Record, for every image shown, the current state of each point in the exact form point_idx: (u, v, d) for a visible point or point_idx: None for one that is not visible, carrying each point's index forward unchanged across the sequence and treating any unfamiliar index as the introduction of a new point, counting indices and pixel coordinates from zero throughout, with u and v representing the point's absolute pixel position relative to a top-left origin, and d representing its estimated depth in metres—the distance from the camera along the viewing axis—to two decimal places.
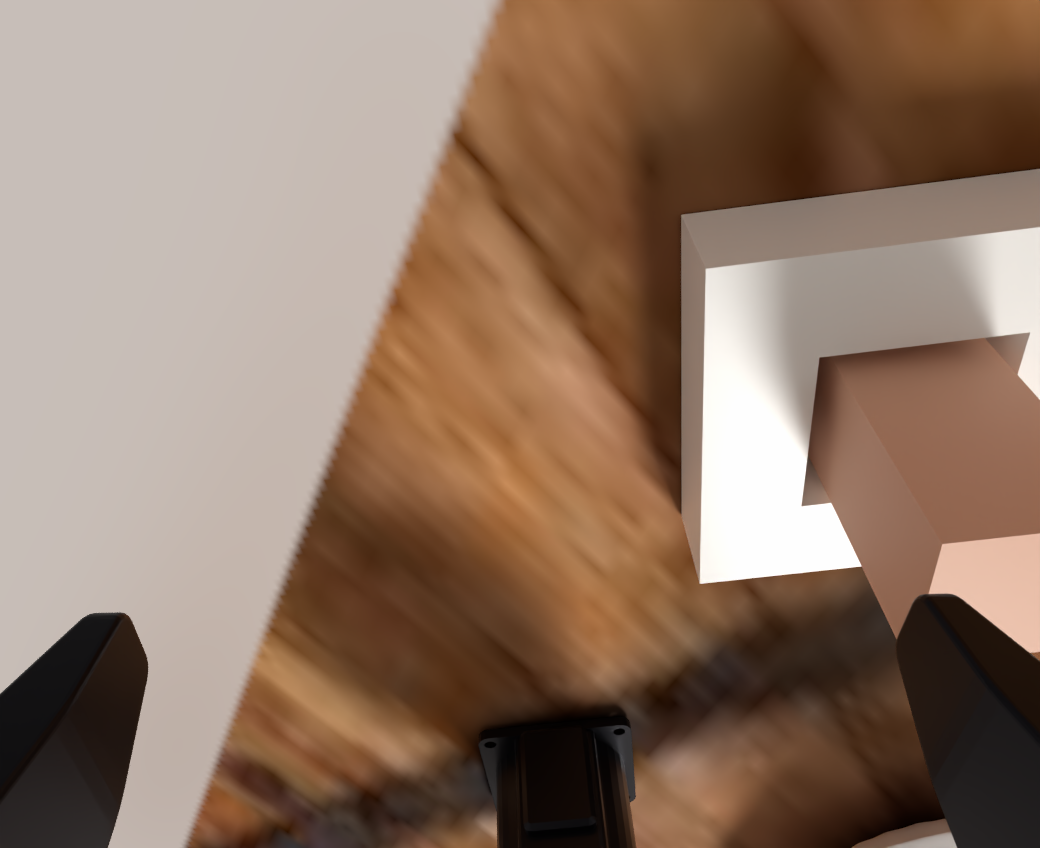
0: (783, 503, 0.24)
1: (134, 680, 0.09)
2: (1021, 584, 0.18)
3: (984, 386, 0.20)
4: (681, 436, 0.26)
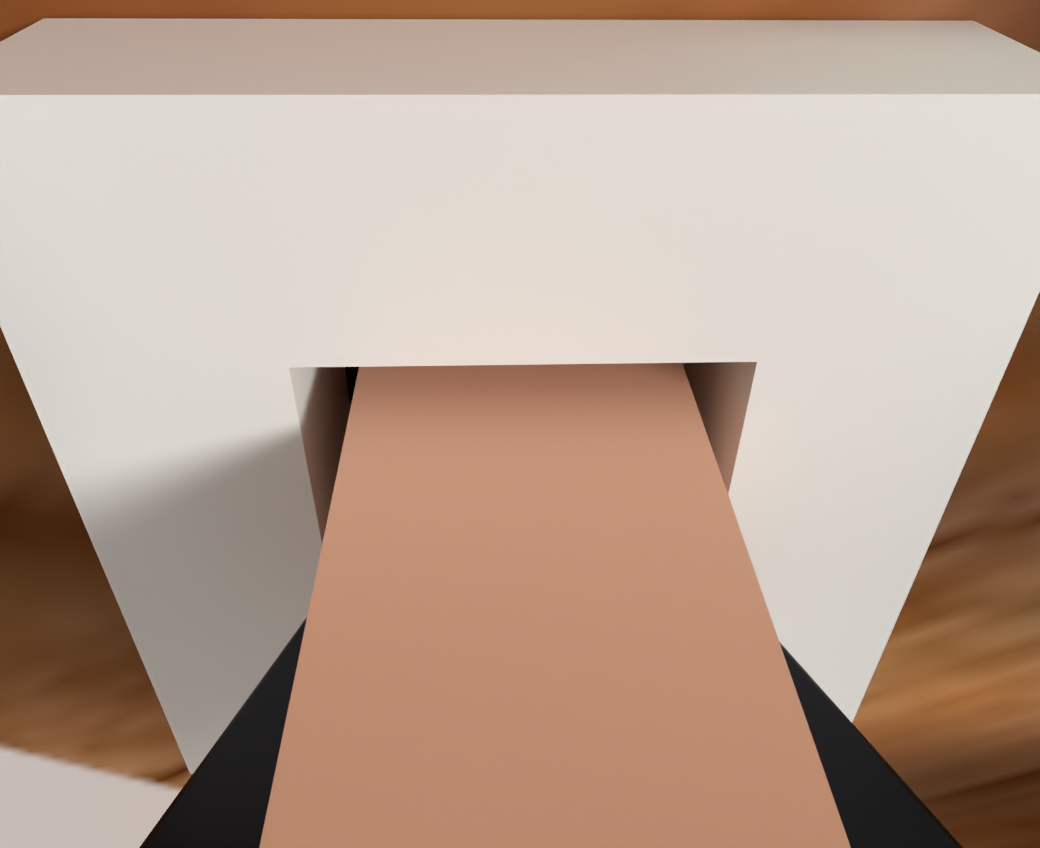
0: None
1: None
2: None
3: None
4: None
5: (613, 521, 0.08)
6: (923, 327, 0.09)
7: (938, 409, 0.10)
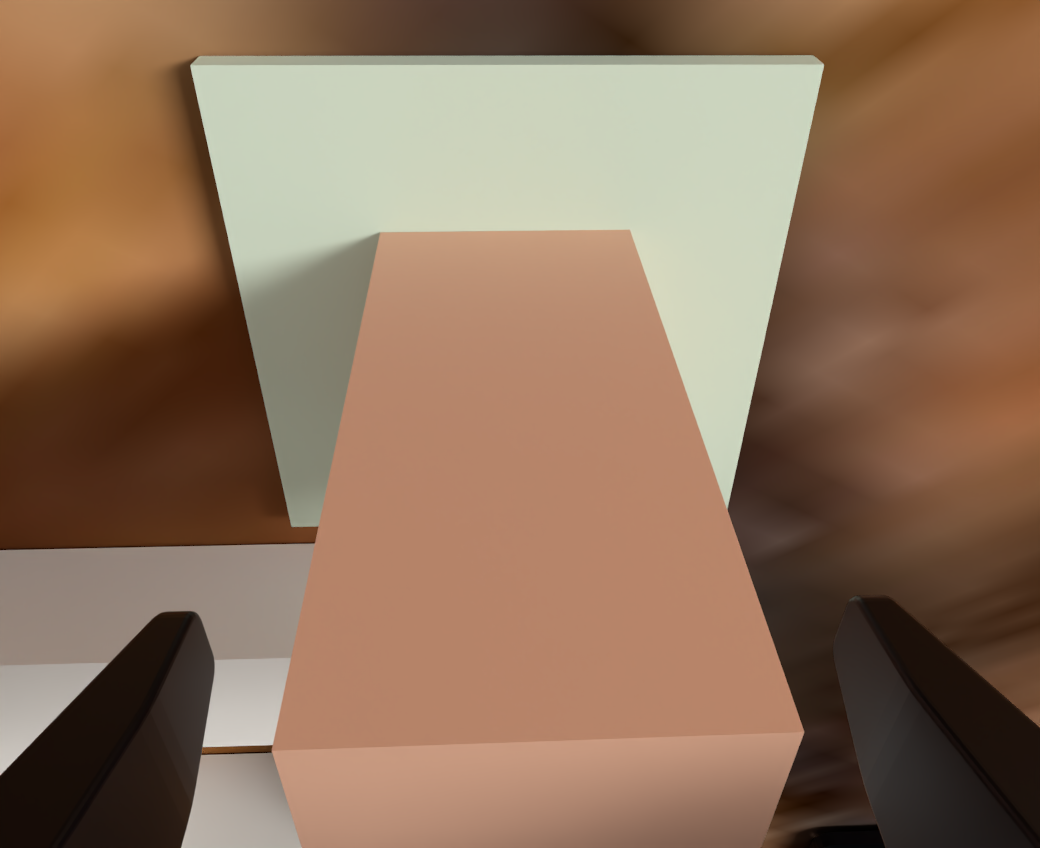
0: None
1: (203, 678, 0.09)
2: None
3: None
4: None
5: (587, 413, 0.10)
6: None
7: None
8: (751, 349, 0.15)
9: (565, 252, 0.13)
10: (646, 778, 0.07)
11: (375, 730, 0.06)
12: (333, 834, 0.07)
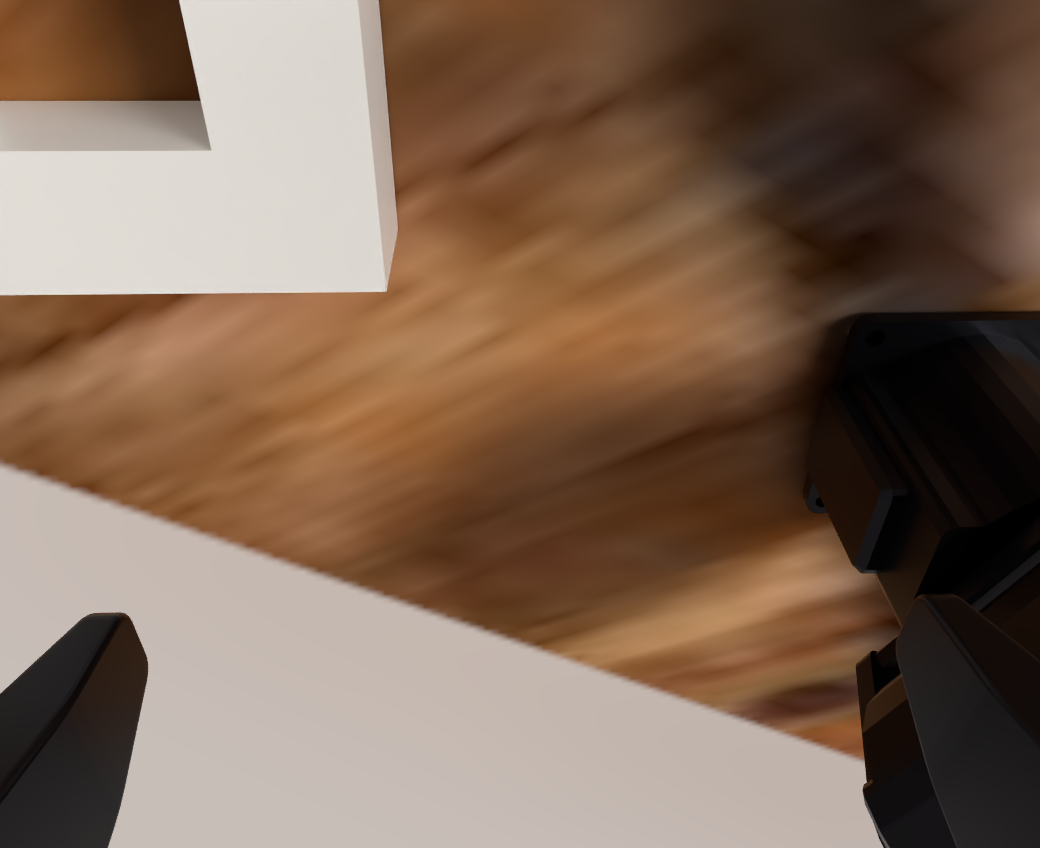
0: (206, 179, 0.15)
1: (134, 680, 0.09)
2: None
3: None
4: None
5: None
6: None
7: None
8: None
9: None
10: None
11: None
12: None
